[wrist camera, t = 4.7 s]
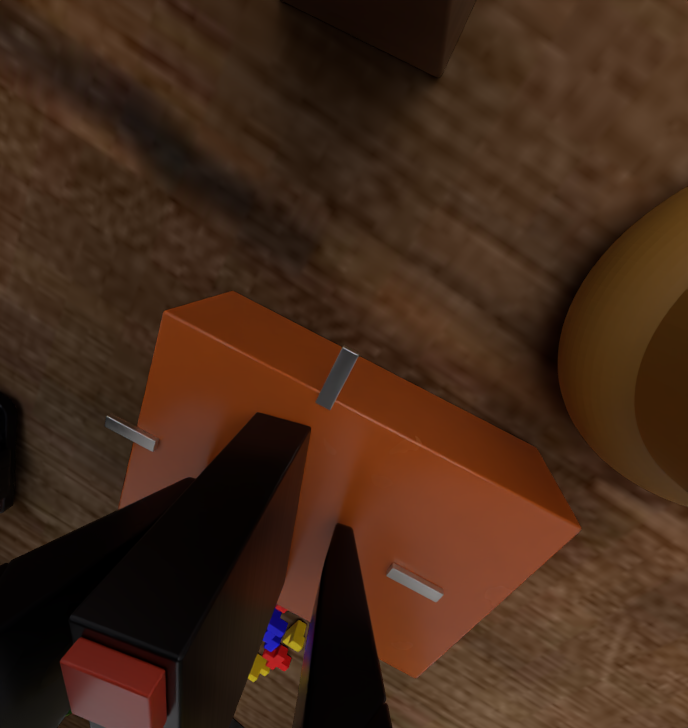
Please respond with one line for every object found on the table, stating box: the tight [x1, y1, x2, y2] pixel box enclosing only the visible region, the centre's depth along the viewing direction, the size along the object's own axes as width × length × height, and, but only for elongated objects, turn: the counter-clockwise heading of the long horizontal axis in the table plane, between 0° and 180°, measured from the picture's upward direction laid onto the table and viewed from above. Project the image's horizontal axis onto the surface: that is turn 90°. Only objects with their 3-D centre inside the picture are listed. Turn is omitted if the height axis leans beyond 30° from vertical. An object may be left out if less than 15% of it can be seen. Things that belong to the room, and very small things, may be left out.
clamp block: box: [105, 291, 582, 678], centre depth 10 cm, size 11×9×3 cm
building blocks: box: [248, 604, 306, 682], centre depth 14 cm, size 6×8×2 cm
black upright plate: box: [60, 412, 311, 728], centre depth 6 cm, size 5×1×5 cm, turn 169°
